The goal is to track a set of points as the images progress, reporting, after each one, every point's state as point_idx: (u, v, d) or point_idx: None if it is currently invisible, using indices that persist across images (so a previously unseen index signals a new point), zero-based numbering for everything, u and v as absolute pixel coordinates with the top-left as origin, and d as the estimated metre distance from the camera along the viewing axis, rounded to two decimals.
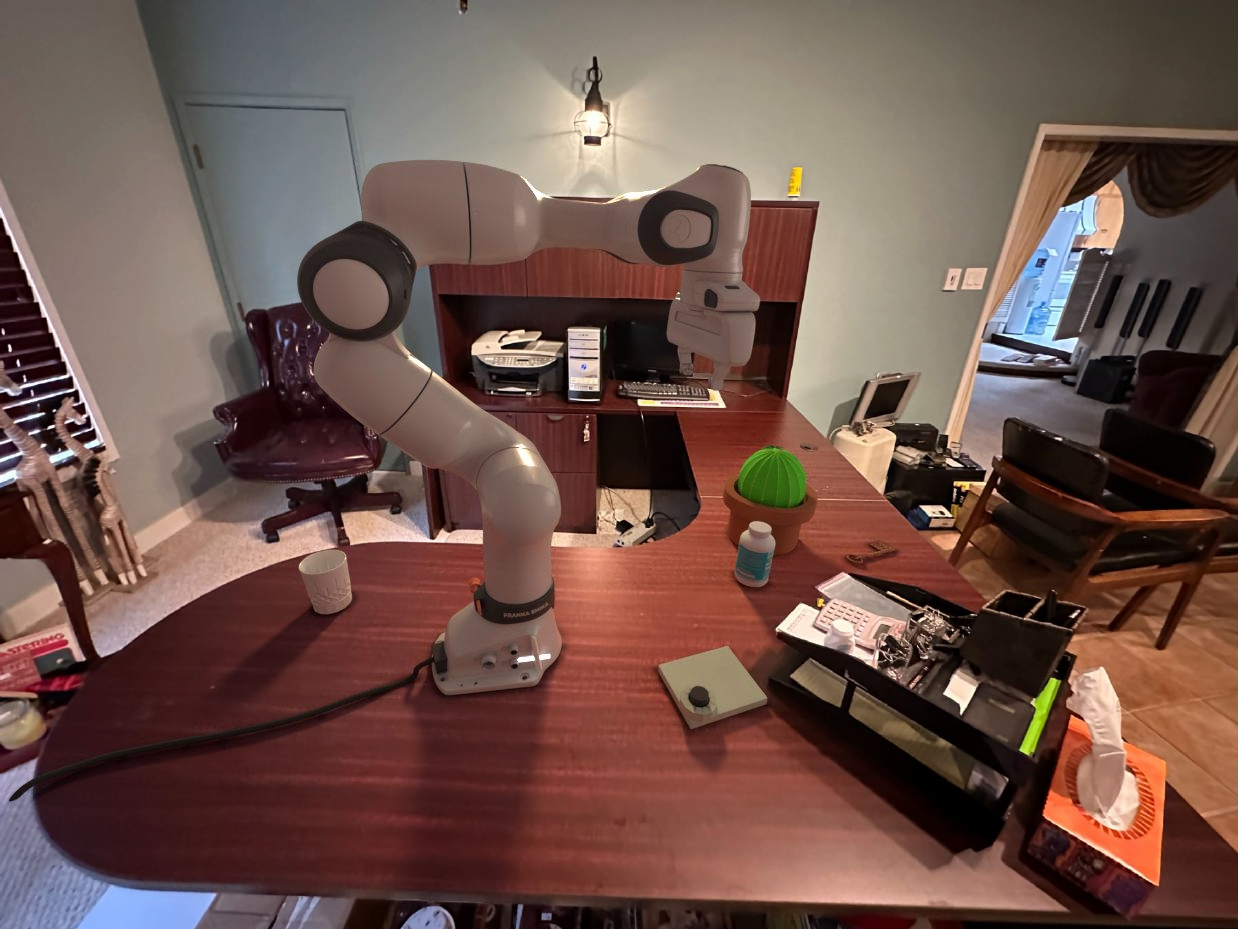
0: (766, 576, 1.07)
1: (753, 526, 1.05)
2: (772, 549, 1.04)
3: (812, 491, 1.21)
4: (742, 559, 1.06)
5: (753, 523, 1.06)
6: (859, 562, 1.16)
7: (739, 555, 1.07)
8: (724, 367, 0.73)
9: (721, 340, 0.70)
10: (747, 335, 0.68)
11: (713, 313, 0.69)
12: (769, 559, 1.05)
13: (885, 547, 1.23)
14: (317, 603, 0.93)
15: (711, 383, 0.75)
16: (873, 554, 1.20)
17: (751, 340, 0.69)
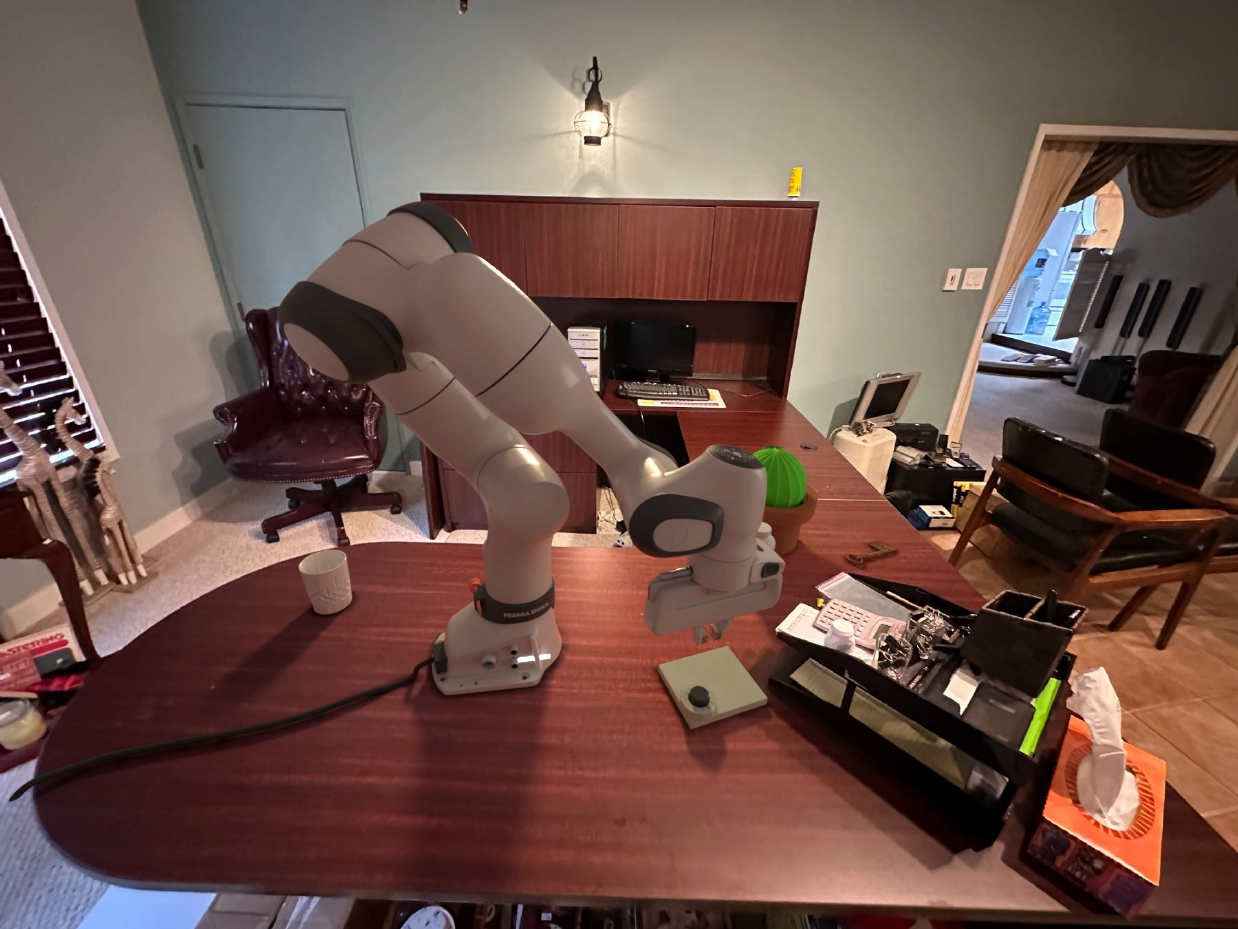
0: None
1: None
2: (772, 549, 1.04)
3: (812, 491, 1.21)
4: None
5: None
6: (859, 562, 1.16)
7: None
8: None
9: (767, 592, 0.70)
10: None
11: (766, 578, 0.67)
12: None
13: (885, 547, 1.23)
14: (317, 603, 0.93)
15: (721, 635, 0.72)
16: (873, 554, 1.20)
17: None
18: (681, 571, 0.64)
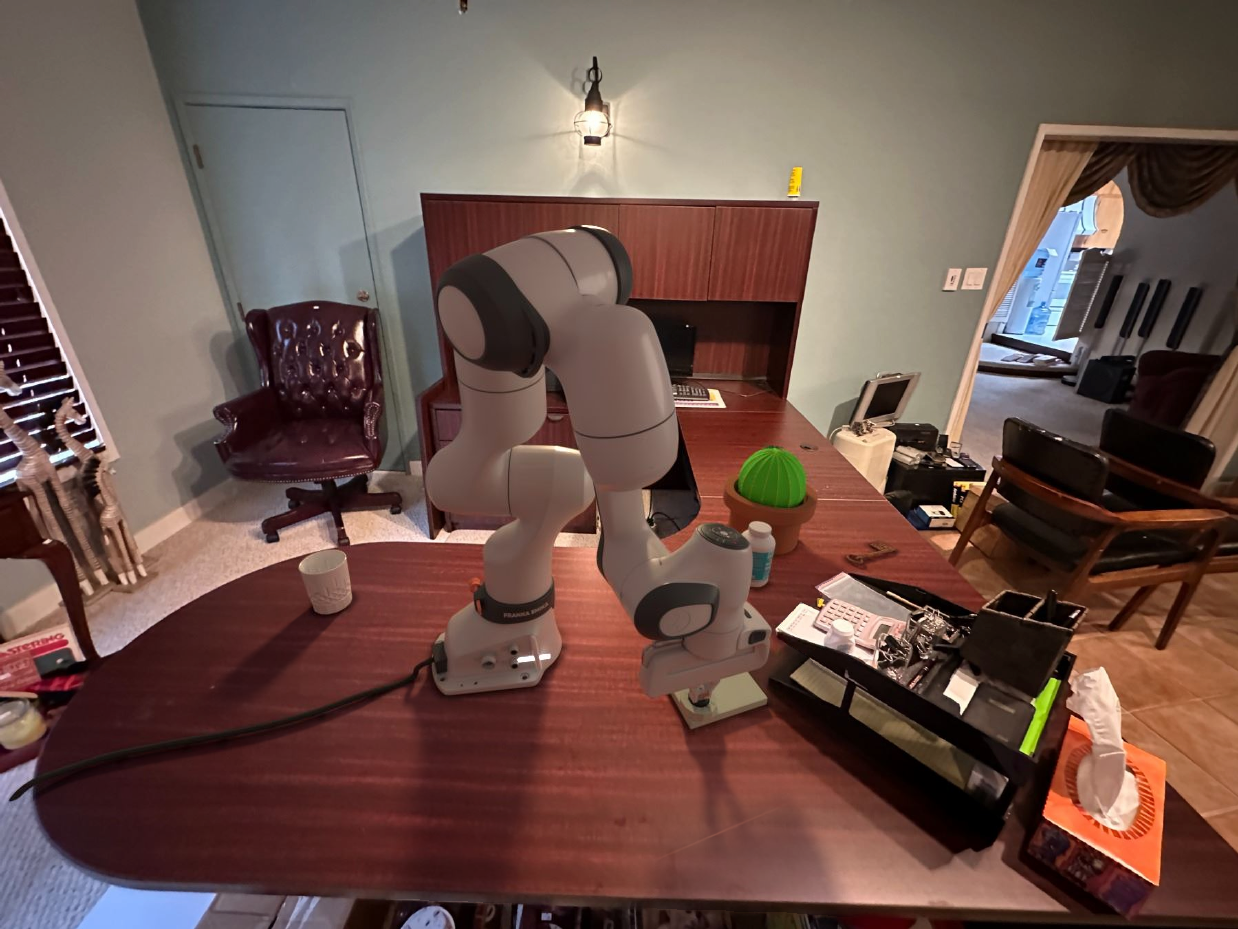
0: (766, 576, 1.07)
1: (753, 526, 1.05)
2: (772, 549, 1.04)
3: (812, 491, 1.21)
4: None
5: (753, 523, 1.06)
6: (859, 562, 1.16)
7: None
8: None
9: (756, 655, 0.74)
10: None
11: (754, 643, 0.71)
12: (769, 559, 1.05)
13: (885, 547, 1.23)
14: (317, 603, 0.93)
15: (708, 695, 0.75)
16: (873, 554, 1.20)
17: None
18: None
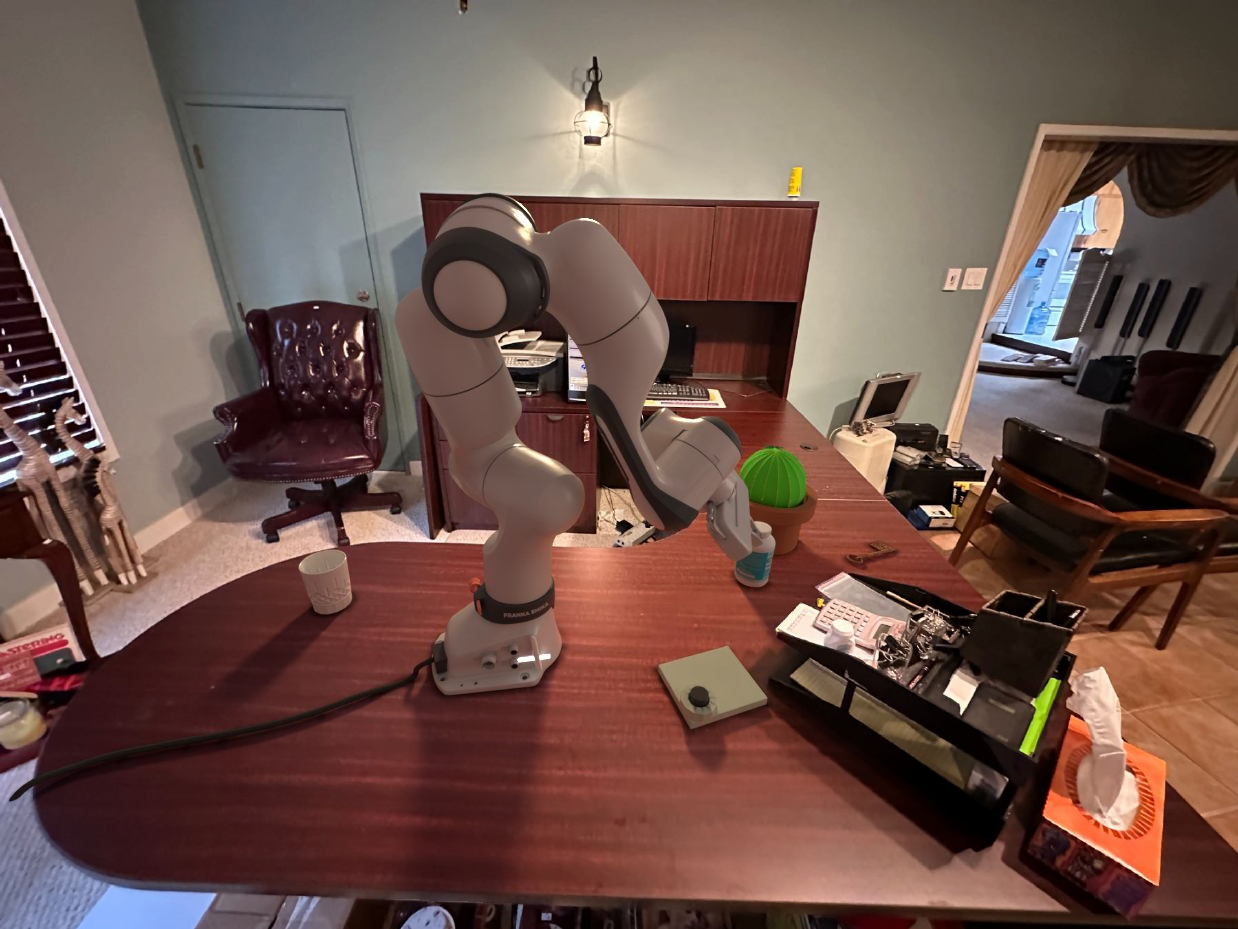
0: (766, 576, 1.07)
1: None
2: (772, 549, 1.04)
3: (812, 491, 1.21)
4: (742, 559, 1.06)
5: None
6: (859, 562, 1.16)
7: None
8: None
9: (738, 482, 0.91)
10: None
11: None
12: (769, 559, 1.05)
13: (885, 547, 1.23)
14: (317, 603, 0.93)
15: (759, 531, 0.88)
16: (873, 554, 1.20)
17: None
18: (709, 506, 0.79)
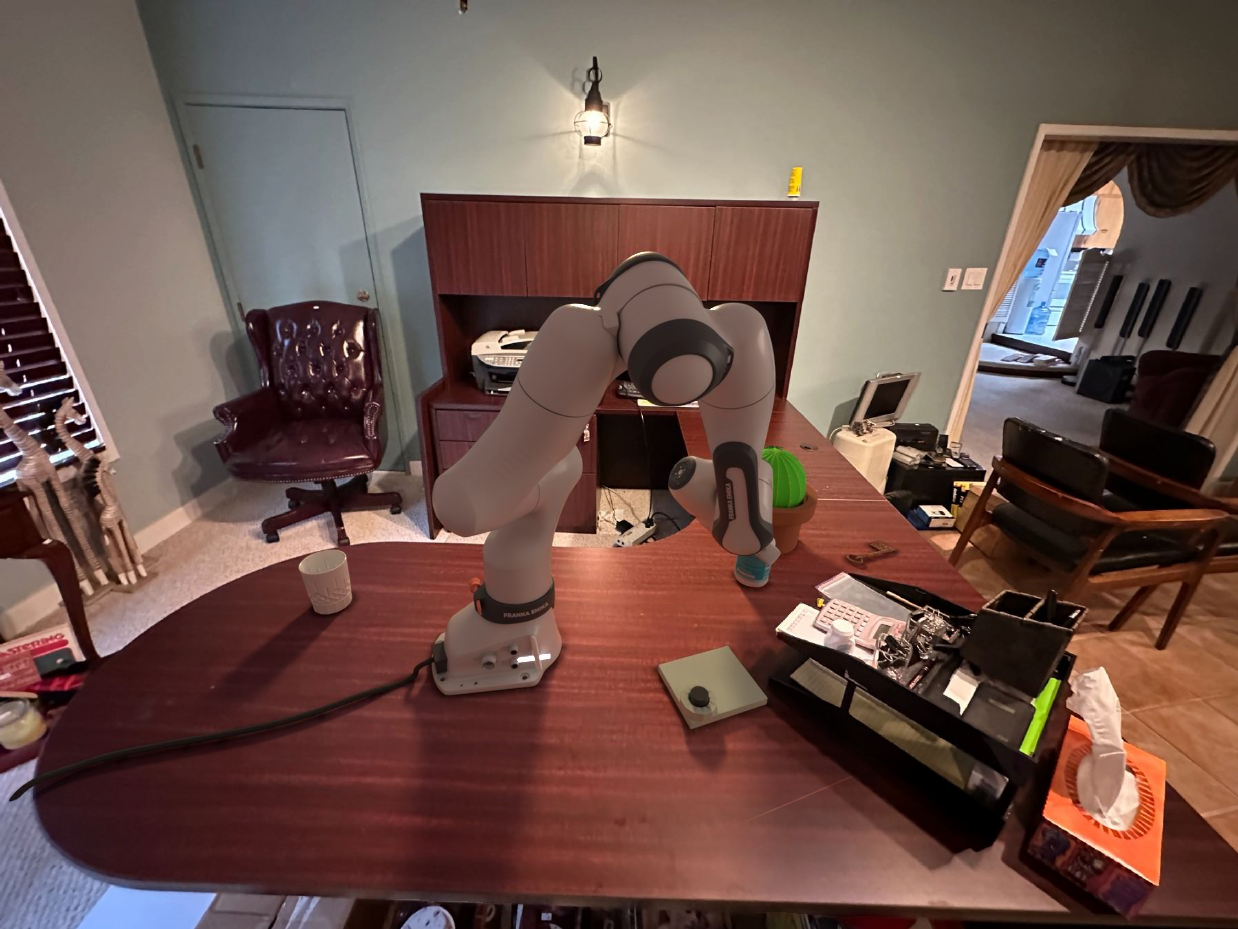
0: (766, 576, 1.07)
1: None
2: None
3: (812, 491, 1.21)
4: (742, 559, 1.06)
5: None
6: (859, 562, 1.16)
7: None
8: None
9: None
10: None
11: None
12: None
13: (885, 547, 1.23)
14: (317, 603, 0.93)
15: None
16: (873, 554, 1.20)
17: None
18: None
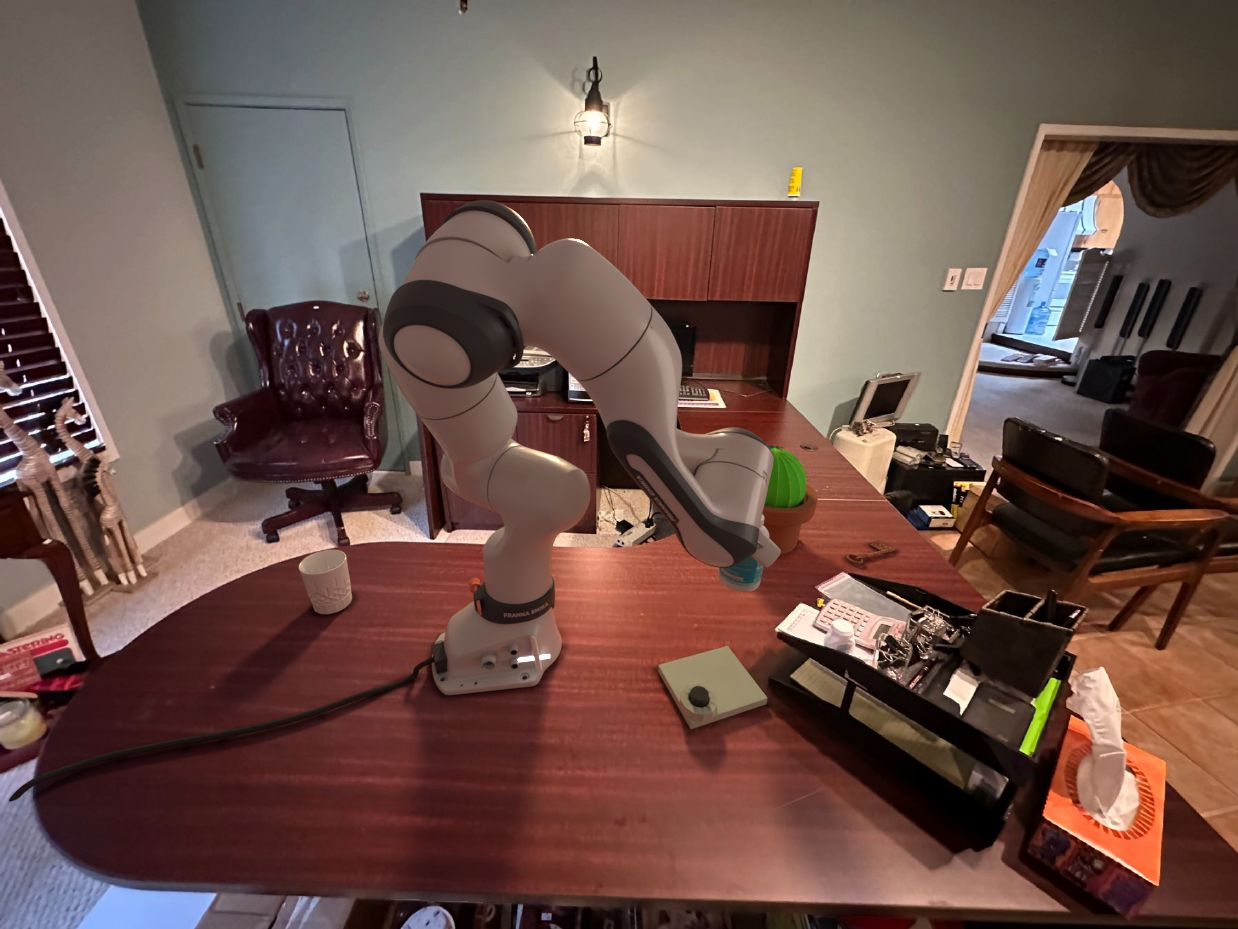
0: (758, 578, 0.84)
1: None
2: None
3: (812, 491, 1.21)
4: None
5: None
6: (859, 562, 1.16)
7: None
8: None
9: None
10: None
11: None
12: None
13: (885, 547, 1.23)
14: (317, 603, 0.93)
15: None
16: (873, 554, 1.20)
17: None
18: None
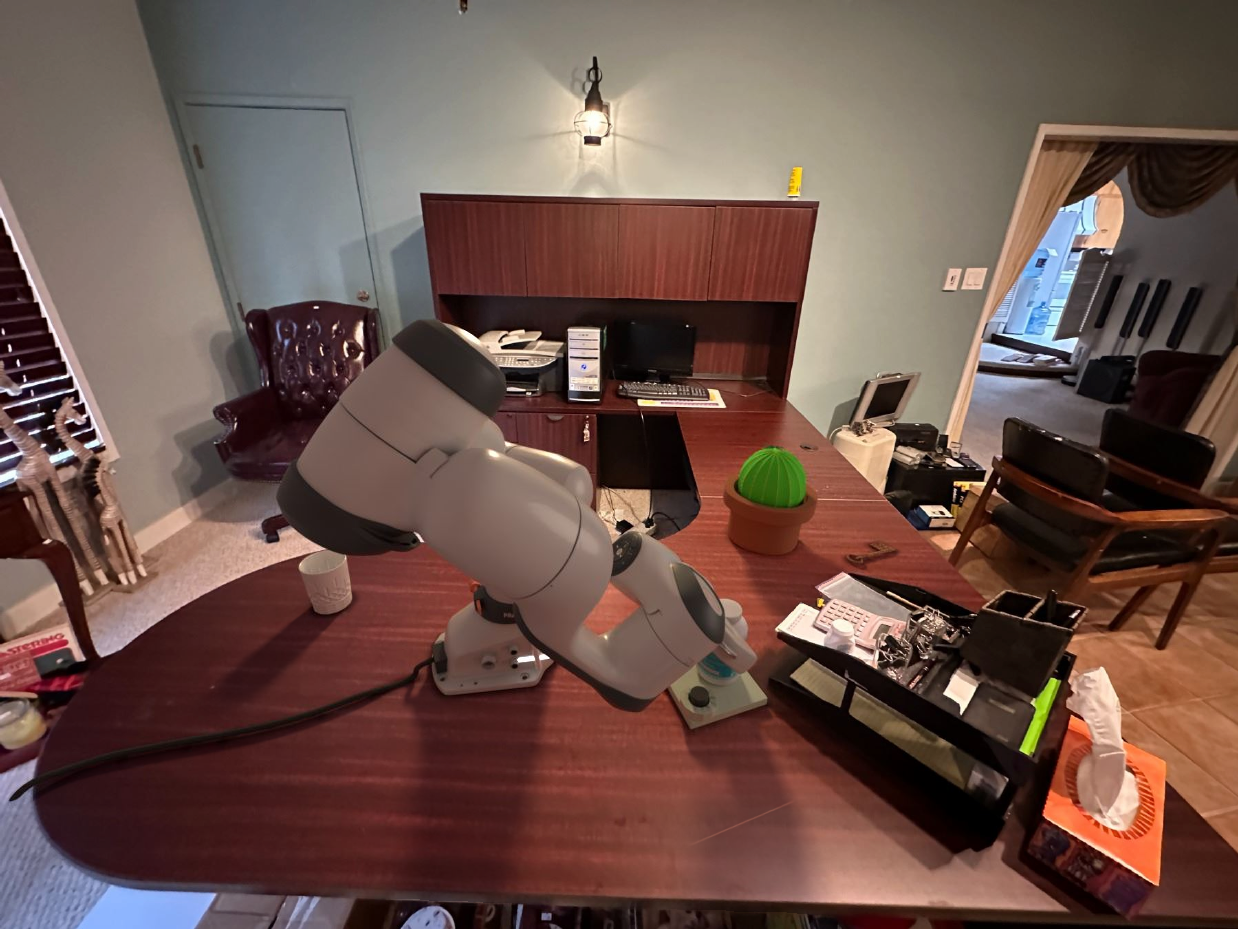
0: (735, 672, 0.81)
1: None
2: None
3: (812, 491, 1.21)
4: None
5: None
6: (859, 562, 1.16)
7: None
8: None
9: None
10: None
11: None
12: None
13: (885, 547, 1.23)
14: (317, 603, 0.93)
15: None
16: (873, 554, 1.20)
17: None
18: None
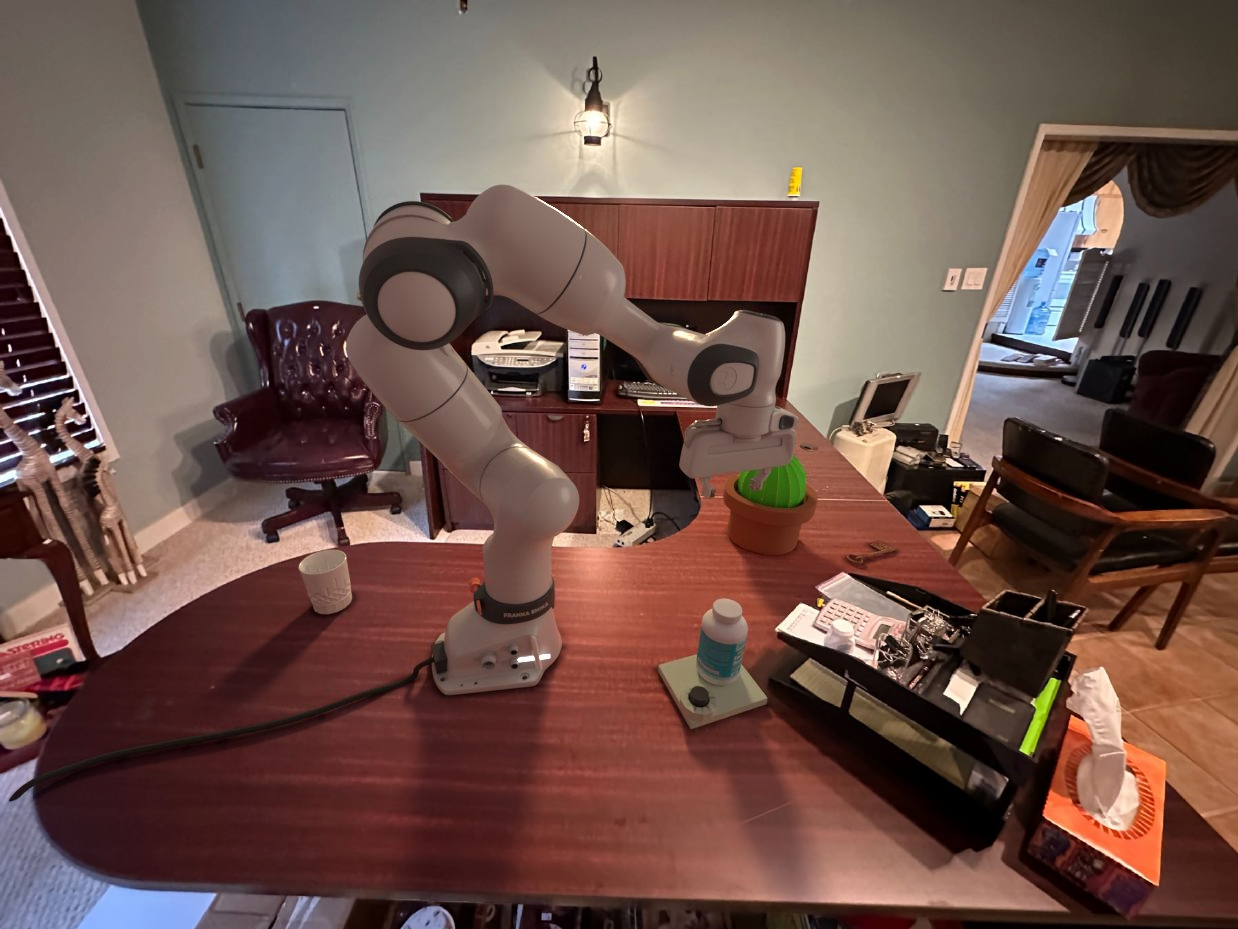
0: (735, 672, 0.81)
1: (718, 607, 0.79)
2: (742, 639, 0.78)
3: (812, 491, 1.21)
4: (704, 649, 0.80)
5: (719, 602, 0.80)
6: (859, 562, 1.16)
7: (700, 642, 0.81)
8: None
9: (783, 449, 0.82)
10: None
11: (783, 432, 0.80)
12: (738, 651, 0.79)
13: (885, 547, 1.23)
14: (317, 603, 0.93)
15: (760, 486, 0.85)
16: (873, 554, 1.20)
17: None
18: (712, 420, 0.77)
